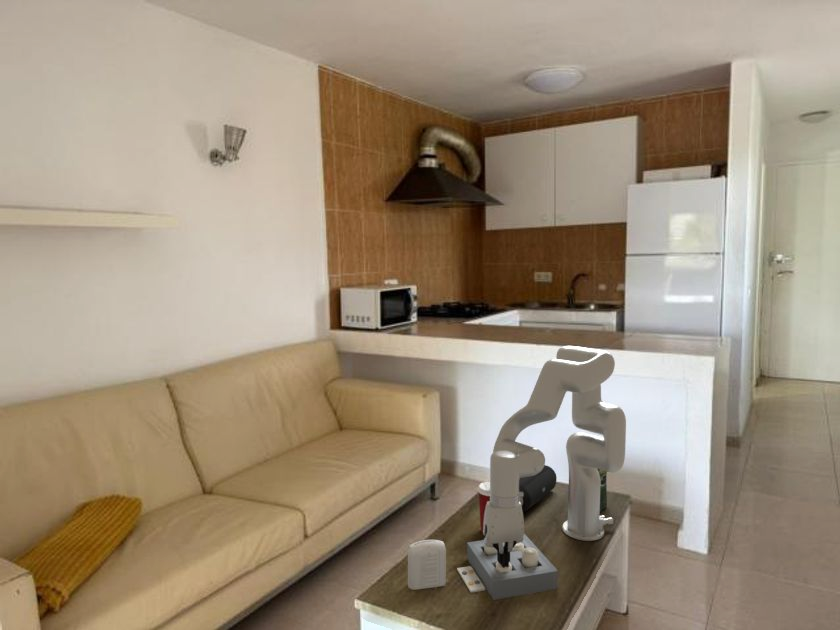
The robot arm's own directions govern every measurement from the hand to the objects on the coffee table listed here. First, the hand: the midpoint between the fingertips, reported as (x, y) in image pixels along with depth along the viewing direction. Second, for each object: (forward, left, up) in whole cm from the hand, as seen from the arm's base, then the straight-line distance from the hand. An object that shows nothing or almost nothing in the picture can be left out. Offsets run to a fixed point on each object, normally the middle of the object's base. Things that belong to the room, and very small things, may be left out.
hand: (503, 564), depth 151 cm
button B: (-8, 0, -2) cm, 8 cm away
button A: (-8, -9, -5) cm, 12 cm away
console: (-4, -4, -6) cm, 8 cm away
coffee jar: (-47, -33, -6) cm, 58 cm away
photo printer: (+20, -5, -6) cm, 21 cm away
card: (+8, -4, -6) cm, 10 cm away
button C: (0, -9, -2) cm, 9 cm away
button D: (0, 0, -5) cm, 5 cm away
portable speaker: (-29, -44, -6) cm, 53 cm away
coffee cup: (-7, -27, -6) cm, 29 cm away
